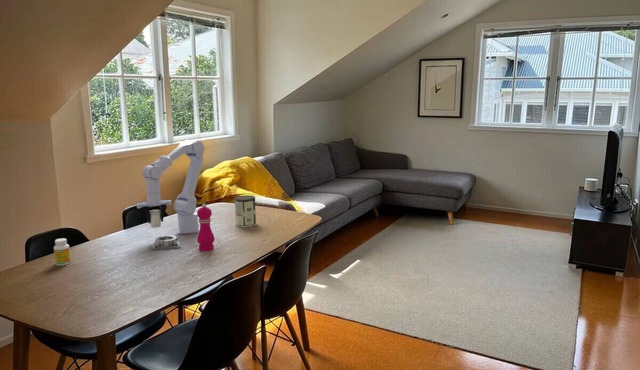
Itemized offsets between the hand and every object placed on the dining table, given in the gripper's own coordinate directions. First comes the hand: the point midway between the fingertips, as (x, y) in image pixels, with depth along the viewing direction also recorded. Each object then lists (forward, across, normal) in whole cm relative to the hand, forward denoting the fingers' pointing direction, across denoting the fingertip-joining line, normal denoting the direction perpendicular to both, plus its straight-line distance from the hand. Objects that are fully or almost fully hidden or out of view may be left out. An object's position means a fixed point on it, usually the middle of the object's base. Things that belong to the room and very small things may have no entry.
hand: (155, 222), depth 217 cm
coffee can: (+9, -44, -7) cm, 45 cm away
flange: (+9, -3, +9) cm, 13 cm away
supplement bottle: (+9, +37, +15) cm, 41 cm away
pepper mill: (+9, -17, +22) cm, 30 cm away
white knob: (+2, 0, 0) cm, 2 cm away
